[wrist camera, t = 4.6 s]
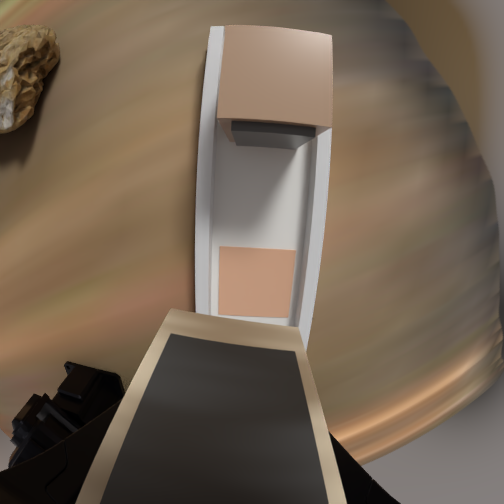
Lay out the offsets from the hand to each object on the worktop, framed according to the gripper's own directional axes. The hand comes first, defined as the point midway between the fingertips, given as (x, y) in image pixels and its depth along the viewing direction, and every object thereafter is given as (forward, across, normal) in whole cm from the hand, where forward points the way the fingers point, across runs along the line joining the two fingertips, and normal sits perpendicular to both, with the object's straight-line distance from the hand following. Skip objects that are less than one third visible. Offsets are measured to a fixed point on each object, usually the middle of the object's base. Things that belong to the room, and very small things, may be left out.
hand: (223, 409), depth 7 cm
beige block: (+2, 0, 0) cm, 2 cm away
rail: (+12, -1, -5) cm, 13 cm away
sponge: (+12, +27, -13) cm, 33 cm away
